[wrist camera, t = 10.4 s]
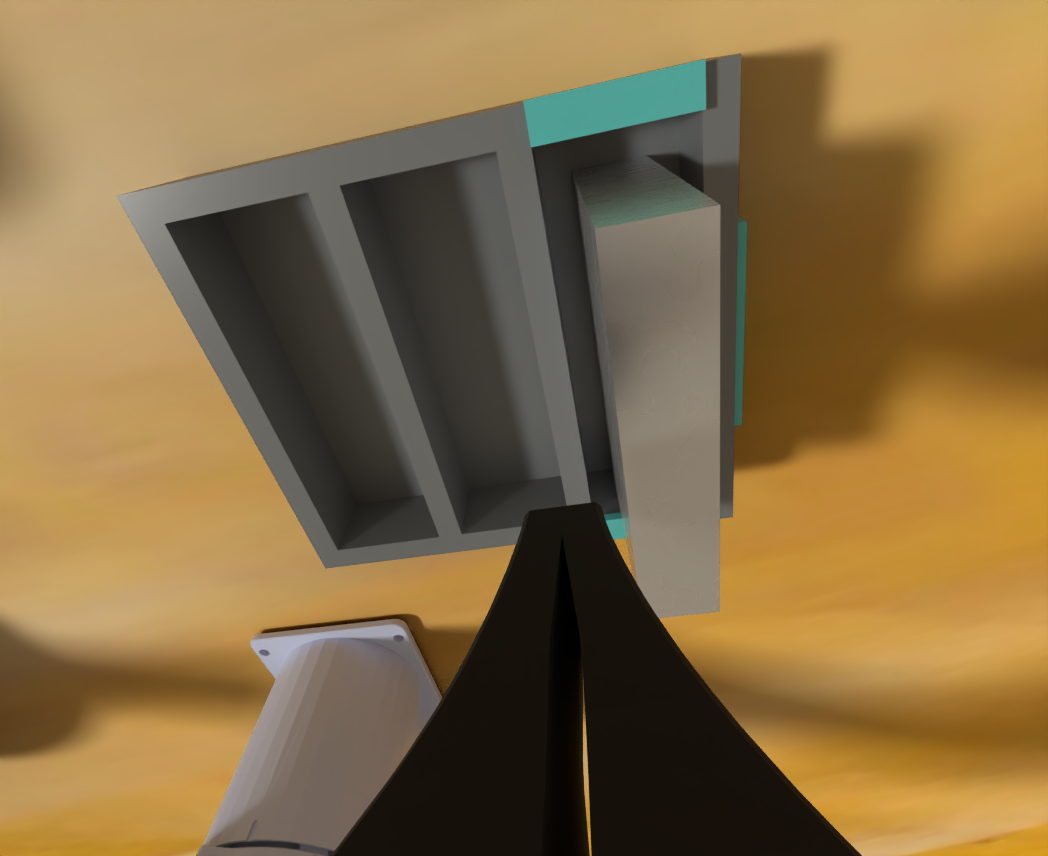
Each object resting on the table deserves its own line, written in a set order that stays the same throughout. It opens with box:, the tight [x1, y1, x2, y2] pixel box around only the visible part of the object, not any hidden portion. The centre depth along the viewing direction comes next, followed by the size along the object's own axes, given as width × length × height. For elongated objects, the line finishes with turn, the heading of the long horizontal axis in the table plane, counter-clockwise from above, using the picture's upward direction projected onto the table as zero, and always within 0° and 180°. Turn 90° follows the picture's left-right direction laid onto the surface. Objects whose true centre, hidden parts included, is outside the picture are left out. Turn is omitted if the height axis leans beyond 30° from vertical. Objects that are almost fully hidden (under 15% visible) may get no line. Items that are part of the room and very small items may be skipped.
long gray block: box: [572, 155, 720, 618], centre depth 14 cm, size 10×2×7 cm, turn 11°
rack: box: [117, 54, 747, 568], centre depth 17 cm, size 13×15×3 cm
